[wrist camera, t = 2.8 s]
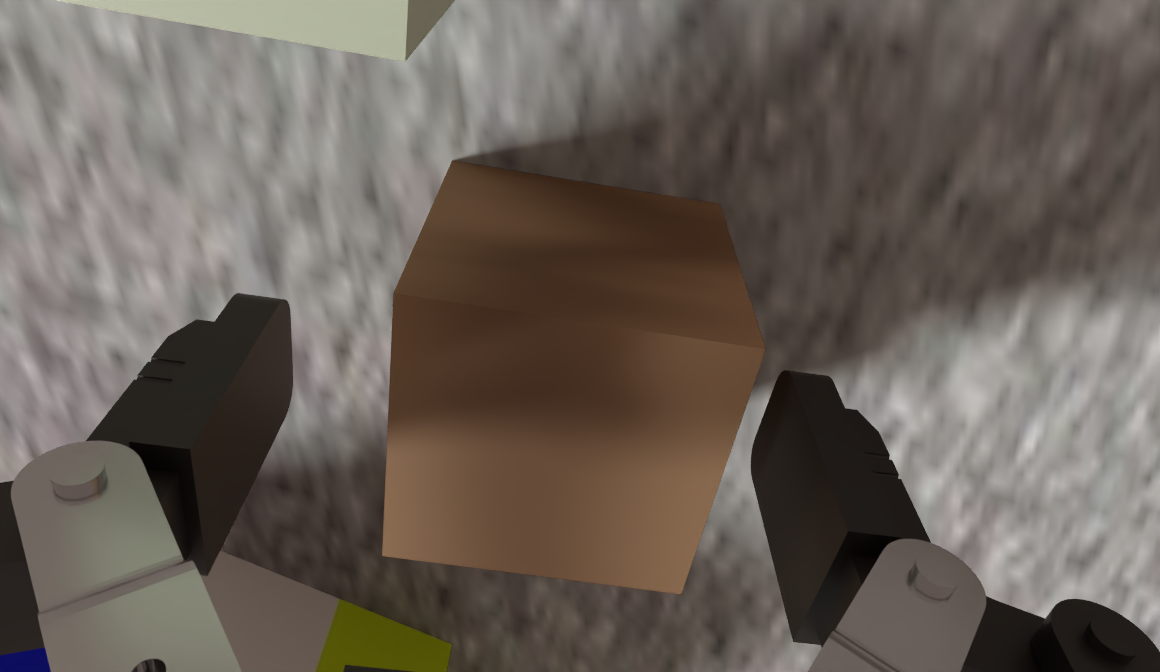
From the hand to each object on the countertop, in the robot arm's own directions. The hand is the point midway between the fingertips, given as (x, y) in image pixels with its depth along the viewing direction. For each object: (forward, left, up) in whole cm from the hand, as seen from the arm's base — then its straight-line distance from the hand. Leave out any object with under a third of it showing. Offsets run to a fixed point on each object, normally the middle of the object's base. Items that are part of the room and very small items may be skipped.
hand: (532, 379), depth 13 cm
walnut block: (-1, 0, -3) cm, 3 cm away
